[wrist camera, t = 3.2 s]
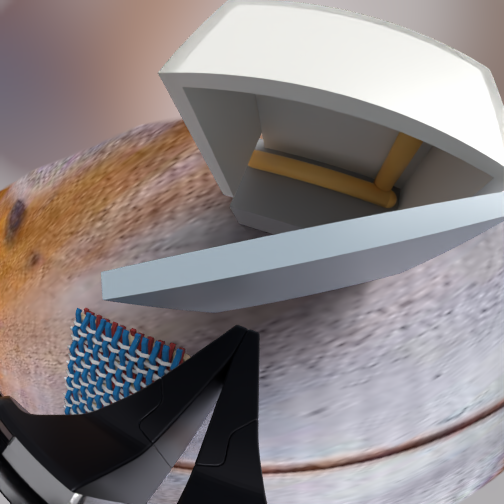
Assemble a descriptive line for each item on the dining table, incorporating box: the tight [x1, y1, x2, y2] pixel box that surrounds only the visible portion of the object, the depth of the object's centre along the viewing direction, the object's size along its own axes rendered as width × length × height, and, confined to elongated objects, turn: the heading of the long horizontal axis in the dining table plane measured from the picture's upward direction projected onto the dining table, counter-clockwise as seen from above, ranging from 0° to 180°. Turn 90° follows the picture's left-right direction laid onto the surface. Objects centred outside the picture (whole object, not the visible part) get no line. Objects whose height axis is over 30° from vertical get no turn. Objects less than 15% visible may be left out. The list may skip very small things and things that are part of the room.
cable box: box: [158, 0, 504, 235], centre depth 12 cm, size 5×10×13 cm, turn 70°
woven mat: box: [63, 308, 190, 415], centre depth 16 cm, size 10×11×2 cm
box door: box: [101, 192, 504, 313], centre depth 9 cm, size 1×10×9 cm, turn 100°
